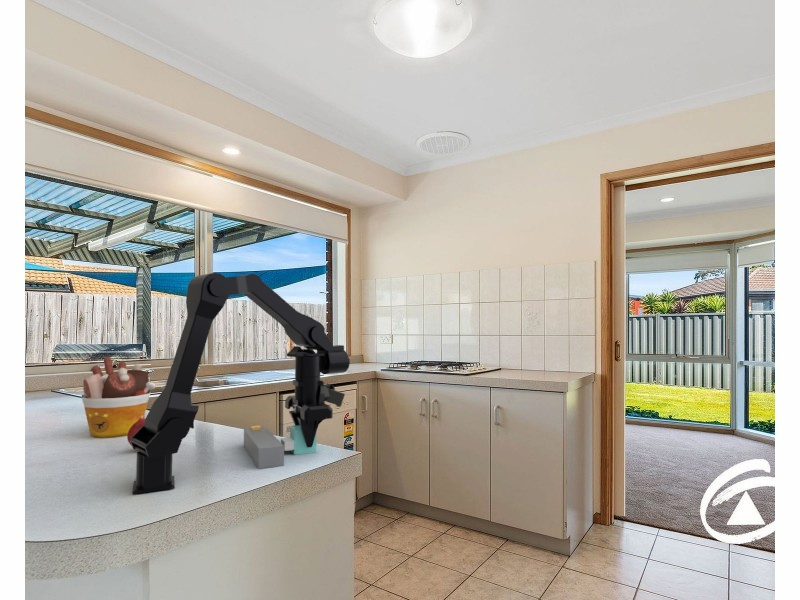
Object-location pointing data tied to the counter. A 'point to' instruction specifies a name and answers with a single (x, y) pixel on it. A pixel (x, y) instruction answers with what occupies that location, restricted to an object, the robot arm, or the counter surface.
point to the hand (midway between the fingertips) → (307, 444)
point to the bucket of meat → (115, 399)
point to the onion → (135, 428)
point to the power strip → (263, 447)
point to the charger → (297, 442)
